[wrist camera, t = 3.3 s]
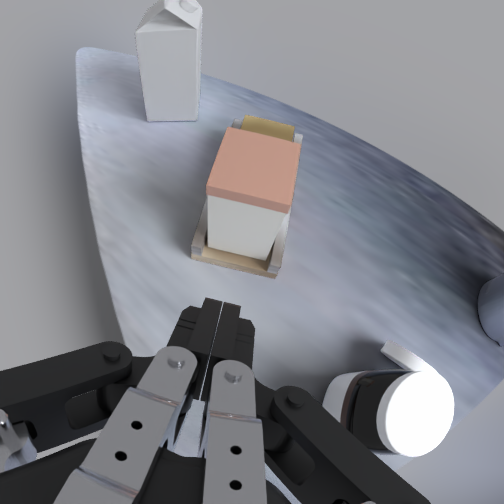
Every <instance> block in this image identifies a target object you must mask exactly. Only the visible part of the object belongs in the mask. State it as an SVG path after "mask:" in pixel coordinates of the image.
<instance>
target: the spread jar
mask: <svg viewBox="0 0 504 504" xmlns="http://www.w3.org/2000/svg"><path fill="white" fill-rule="evenodd" d="M381 352H382V353H383V354H384V355H385V356H387V357H388V358H389V359H391V360H392V361H393V362H395V363H396V364H398V365H399V366H400V367H402V368H403V369H385V370H370V371H361V372H353V373H346V374H342V375H339V376H337V377H336V378H334V379H333V380H332V382H331V383H330V385H329V387H328V389H327V391H326V394H325V397H324V401H323V405H322V406H323V407H324V408H325V409H326V410H327V411H328V412H329V413H330V414H331V415H332V416H333V417H334V418H335V419H336V420H337V421H338V422H340V423H341V424H342V425H343V426H344V427H345V428H346V429H347V430H348V431H349V432H350V433H351V434H353V435H354V436H355V437H356V438H357V439H358V440H359V441H360V442H361V443H362V444H364V445H365V446H366V447H367V448H368V449H369V450H370V451H371V452H372V453H374V454H380V455H400V454H401V455H404V456H410V457H416V456H421V455H424V454H426V453H428V452H429V451H431V450H433V449H434V448H435V447H436V446H437V445H438V444H439V443H440V442H441V441H442V440H443V438H444V437H445V435H446V434H447V432H448V430H449V428H450V425H451V422H452V419H453V414H454V398H453V394H452V390H451V388H450V386H449V384H448V383H447V381H446V380H445V379H444V378H443V377H442V376H441V375H440V374H438V373H437V371H436V370H435V369H433V368H432V367H431V366H430V365H429V364H427V363H426V362H425V361H423V360H422V359H420V358H419V357H418V356H416V355H415V354H413V353H412V352H410V351H408V350H407V349H405V348H404V347H402V346H400V345H398V344H397V343H395V342H393V341H390V340H387V342H386V343H385V345H384V346H383V347H382V349H381Z"/></svg>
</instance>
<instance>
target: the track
mask: <svg viewBox="0 0 504 504" xmlns="http://www.w3.org/2000/svg"><path fill="white" fill-rule="evenodd" d="M231 128H236V129H241V130H245V131H250V132H254V133H259V134H263V135H267V136H271V137H275V138H279V139H283V140H287V141H291V142H295V143H299V144H301V145H302V138H303V135H300V134H297V133H295V135H294V138H293V133H294V128H295V127H294V126H291V125H287V124H283V123H279V122H275V121H271V120H266V119H262V118H258V117H253V116H249V115H245V117H244V120H243V123H242V120H238V119H234V121H233V124H232V127H231ZM292 139H293V141H292ZM300 151H301V149H300ZM299 157H300V156H299ZM298 164H299V162H298ZM297 170H298V168H297ZM296 176H297V174H296ZM295 182H296V180H295ZM294 188H295V186H294ZM293 194H294V192H293ZM292 200H293V198H292ZM291 206H292V204H291ZM290 212H291V207H290V210H289V212H288V214H286V215H285V217H284V219H283V222H282V224H281V226H280V229H279V231H278V233H277V236H276V238H275V240H274V243H273V245H272V247H271V249H270V252H269V254H268V256H267V259H266V261H264V260H260V259H256V258H252V257H247V256H243V255H239V254H235V253H231V252H227V251H223V250H218V249H214V248H210V247H208V195H207V198H206V201H205V204H204V207H203V210H202V213H201V216H200V219H199V222H198V225H197V228H196V231H195V234H194V238H193V241H192V244H191V250H192V252H191V256H192V259H194V260H198V261H202V262H206V263H210V264H215V265H219V266H223V267H227V268H231V269H235V270H239V271H244V272H248V273H252V274H256V275H260V276H265V277H269V278H273V279H275V278H276V276H277V274H278V271H279V269H280V267H281V263H282V257H283V252H284V246H285V240H286V235H287V229H288V223H289V218H290Z"/></svg>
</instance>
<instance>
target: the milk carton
mask: <svg viewBox="0 0 504 504" xmlns="http://www.w3.org/2000/svg"><path fill="white" fill-rule="evenodd" d="M202 13H203V9H202V7H201V6H200V5H199V4H198V2H197V1H196V0H159V1H158V2H157V3H155V4H154V5H153V6H152V7H150V8H149V9H148V10H147V12H146V13H145V15H144V17H143V19H142V20H141V22H140V24H139V26H138V28H137V30H136V31H135V39H136V47H137V56H138V63H139V71H140V78H141V85H142V91H143V98H144V104H145V110H146V116H147V121H148V122H154V121H197V118H198V108H199V99H200V76H201V38H202V36H201V35H202Z"/></svg>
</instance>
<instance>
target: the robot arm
mask: <svg viewBox="0 0 504 504" xmlns="http://www.w3.org/2000/svg"><path fill="white" fill-rule="evenodd" d="M221 306H222V301H218V300H214V299H210V298H205V300H204V303H203V305H202V308H197V307H194V306H189V307H188V308H186V309H185V310H183V311H182V313H181V315H180V318H179V320H178V322H177V324H176V326H175V329H174V331H173V333H172V335H171V337H170V340H169V342H168V344H167V346H166V347H165V348H162V349H161V350H159V351H158V353H157V354H156V356H152V357H134V356H132V353H131V351H130V349H129V348H128V347H126V346H125V345H123V344H120V343H117V342H112V341H111V342H110V341H108V342H102V343H99V344H96V345H92V346H89V347H86V348H82V349H79V350H76V351H72V352H68V353H65V354H61V355H58V356H54V357H51V358H47V359H44V360H40V361H37V362H33V363H29V364H26V365H22V366H18V367H14V368H11V369H7V370H3V371H0V504H291V503H290V502H289V500H288V499H287V498H286V497H285V496H284V494H283V493H282V492H281V491H280V490H279V489H278V488H277V487H276V486H275V485H273V484H272V483H271V482H269V481H268V480H266V479H265V463H266V464H267V466H268V467H269V468H270V469H271V470H272V471H273V473H274V474H275V475H276V476H277V477H278V478H279V479H280V480H281V482H282V483H283V484H284V485H285V486H286V487H287V488H288V489H289V491H290V492H291V493H292V494H293V495H294V496H295V497H296V498H297V499H298V500H299V501H300V502H301V503H302V504H431V503H430V502H429V500H427V499H426V498H425V497H424V496H423V495H422V494H420V493H419V492H418V491H417V490H416V489H414V488H413V487H412V486H411V485H410V484H408V483H407V482H406V481H405V480H403V479H402V478H401V477H400V476H399V475H398V474H397V473H395V472H394V471H393V470H392V469H391V468H390V467H388V466H387V465H386V464H385V463H384V462H383V461H382V460H380V459H379V458H378V457H377V456H376V455H375V454H374V453H372V452H371V451H370V450H369V449H368V448H367V447H366V446H365V445H364V444H362V443H361V442H360V441H359V440H358V439H357V438H356V437H355V436H354V435H353V434H351V433H350V432H349V431H348V430H347V429H346V428H345V427H344V426H343V425H342V424H341V423H340V422H338V421H337V420H336V419H335V418H334V417H333V416H332V415H331V414H330V413H329V412H328V411H327V410H326V409H325V408H324V407H323V406H322V405H321V404H319V403H318V402H317V401H316V400H315V399H314V398H313V397H312V396H311V395H310V394H309V393H308V392H306V391H305V390H303V389H301V388H298V387H294V386H285V387H282V388H280V389H278V390H277V391H274V390H272V389H270V388H268V387H266V386H264V385H262V384H261V383H260V382H258V381H257V380H256V378H255V377H254V374H253V371H252V361H253V348H254V335H255V328H254V326H253V324H252V322H251V320H247V319H243V318H239V315H240V308H241V306H239V305H235V304H231V303H226V302H224V304H223V307H222V311H221V315H220V310H221ZM478 313H479V318H480V322H481V324H482V327H483V329H484V331H485V332H486V334H487V335H488V336H489V337H490V338H491V339H493V340H495V341H497V342H498V343H499V344H500V346H501V347H502V346H504V273H503V274H501V275H499V276H497V277H495V278H493V279H492V280H490V281H488V282H486V283H485V284H484V285H483V286H482V288H481V290H480V293H479V297H478ZM219 315H220V319H219ZM218 319H219V323H218ZM217 324H218V327H217ZM216 328H217V331H216ZM215 332H216V335H215ZM214 337H215V339H214ZM213 341H214V343H213ZM212 345H213V346H212ZM211 349H212V350H211ZM210 353H211V354H210ZM209 357H210V359H209ZM208 361H209V363H208ZM207 365H208V368H207ZM206 369H207V372H206ZM205 373H206V377H205V382H204V386H203V391H202V395H201V401H205V406H204V411H203V415H202V420H201V429H200V437H199V446H198V455H197V457H183V456H180V455H178V454H176V453H174V449H175V446H176V444H177V441H178V439H179V436H180V433H181V431H182V428H183V425H184V423H185V420H186V418H187V415H188V411H189V409H190V407H191V404H192V401H193V399H196V400H199V396H200V392H201V388H202V384H203V380H204V376H205ZM93 390H94V391H93ZM90 391H91V392H90ZM87 392H88V393H87ZM79 395H80V396H79ZM76 396H77V397H76ZM73 397H74V398H73ZM101 429H103V430H102V431H101V433H100V435H99V437H98V438H94V439H89V440H86V441H82V442H80V443H77V444H75V445H73V446H70V447H68V448H65V449H63V450H60V451H58V452H56V453H53V454H51V455H48V456H45V457H43V458H40V459H38V460H36V457H37V453H39V452H42V451H45V450H48V449H51V448H54V447H56V446H59V445H62V444H64V443H67V442H70V441H73V440H75V439H78V438H80V437H83V436H86V435H88V434H90V433H93V432H96V431H98V430H101Z"/></svg>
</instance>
